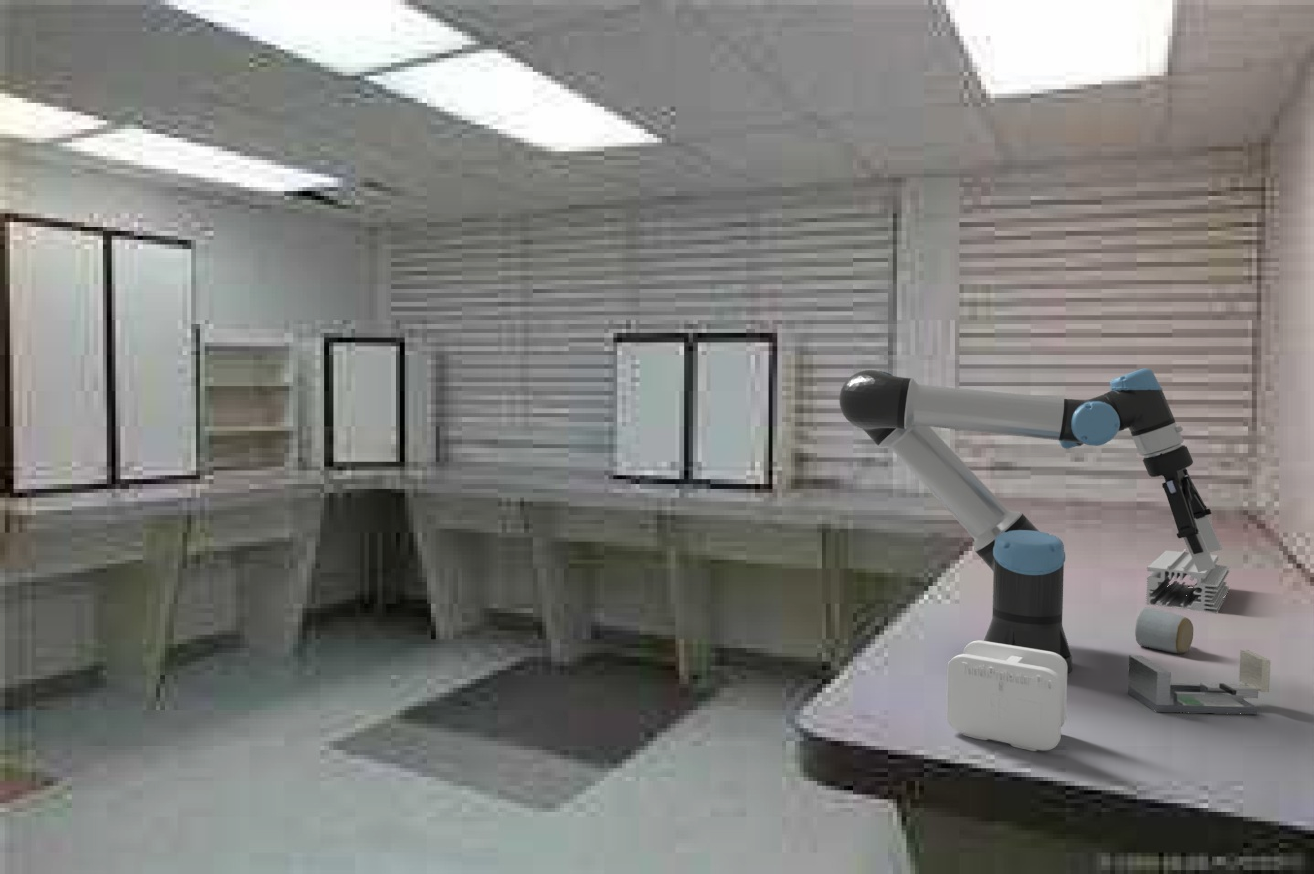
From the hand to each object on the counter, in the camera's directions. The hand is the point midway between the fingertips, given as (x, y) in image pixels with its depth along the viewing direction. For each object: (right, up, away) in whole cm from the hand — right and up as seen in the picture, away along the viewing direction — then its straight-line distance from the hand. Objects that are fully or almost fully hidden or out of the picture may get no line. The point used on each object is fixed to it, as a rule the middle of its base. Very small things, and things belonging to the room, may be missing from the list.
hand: (1210, 560), depth 162 cm
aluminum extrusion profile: (+30, -18, +57) cm, 67 cm away
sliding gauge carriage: (-10, -18, -22) cm, 31 cm away
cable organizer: (-51, -20, -35) cm, 65 cm away
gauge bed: (-16, -20, -21) cm, 33 cm away
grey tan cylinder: (-2, -19, +11) cm, 22 cm away
